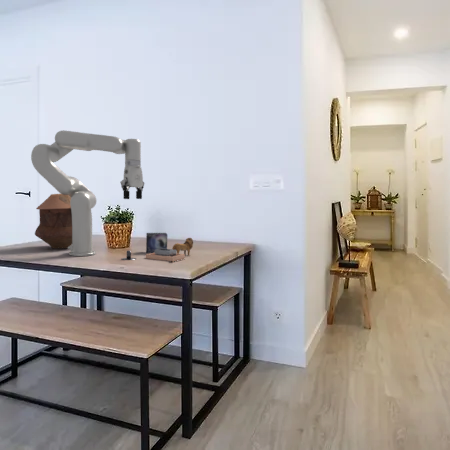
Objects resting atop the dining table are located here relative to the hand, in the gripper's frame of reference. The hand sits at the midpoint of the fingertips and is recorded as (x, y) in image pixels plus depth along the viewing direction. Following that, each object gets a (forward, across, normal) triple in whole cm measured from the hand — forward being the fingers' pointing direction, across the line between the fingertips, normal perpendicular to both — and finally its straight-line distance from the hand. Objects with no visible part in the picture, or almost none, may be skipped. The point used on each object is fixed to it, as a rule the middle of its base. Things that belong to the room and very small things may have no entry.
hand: (132, 198), depth 203 cm
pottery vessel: (+28, -1, +49) cm, 57 cm away
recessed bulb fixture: (+28, -2, -21) cm, 35 cm away
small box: (+29, +12, -6) cm, 32 cm away
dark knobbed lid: (+28, -13, -8) cm, 32 cm away
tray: (+28, -2, -21) cm, 35 cm away
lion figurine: (+29, +11, -22) cm, 38 cm away
